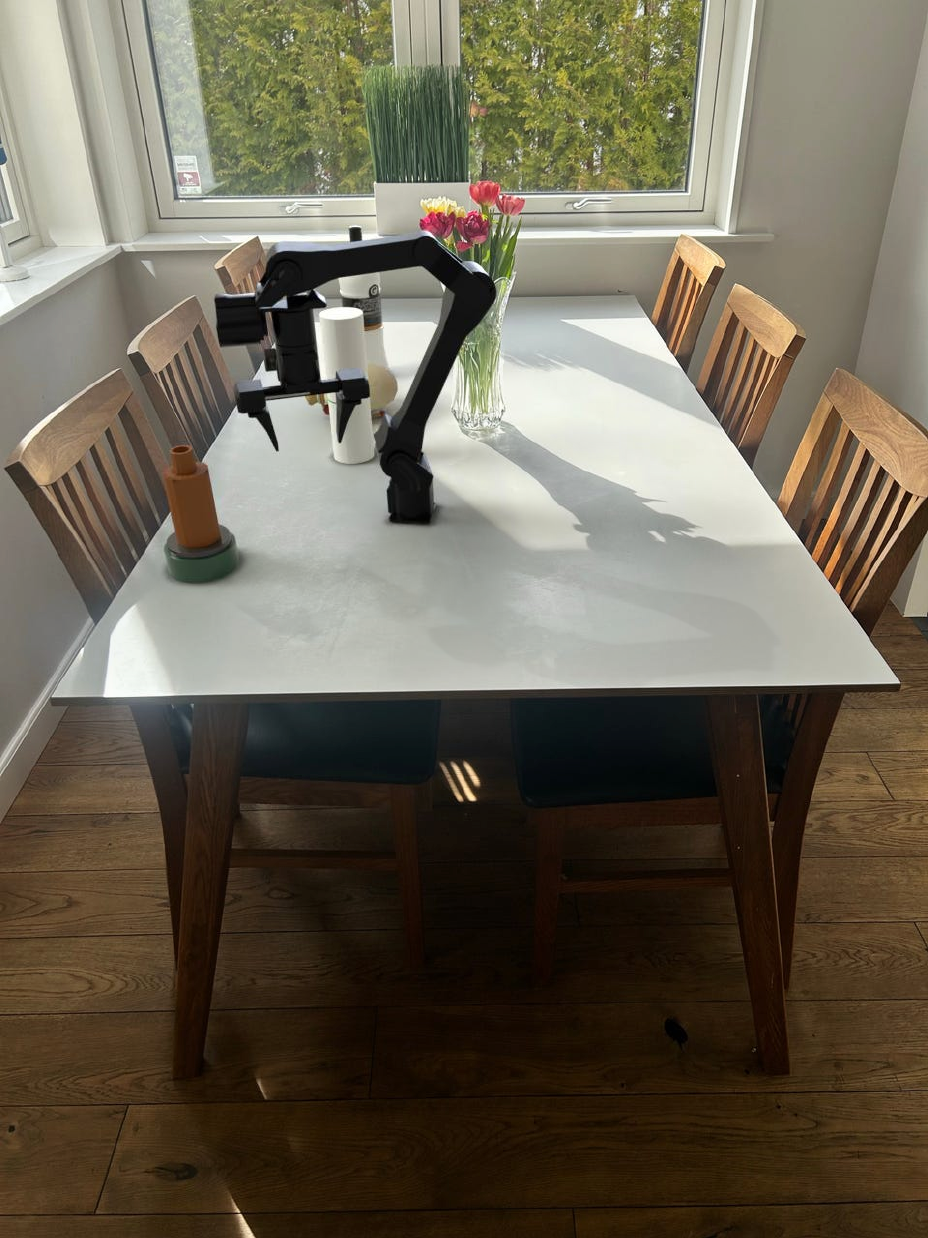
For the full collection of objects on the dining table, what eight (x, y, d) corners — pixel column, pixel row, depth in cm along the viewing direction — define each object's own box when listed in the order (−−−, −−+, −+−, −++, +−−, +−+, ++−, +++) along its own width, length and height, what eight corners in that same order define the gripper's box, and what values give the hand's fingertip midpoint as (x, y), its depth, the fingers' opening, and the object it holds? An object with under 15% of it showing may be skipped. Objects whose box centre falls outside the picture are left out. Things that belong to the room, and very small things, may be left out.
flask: (409, 422, 180) (315, 438, 176) (391, 394, 192) (304, 408, 189) (403, 375, 174) (307, 390, 171) (386, 349, 187) (296, 363, 184)
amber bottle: (226, 528, 136) (210, 441, 129) (211, 549, 132) (193, 459, 124) (187, 526, 137) (168, 439, 130) (170, 547, 132) (150, 457, 125)
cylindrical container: (367, 465, 164) (355, 320, 151) (328, 462, 166) (312, 318, 152) (379, 448, 170) (368, 307, 156) (341, 446, 171) (327, 306, 158)
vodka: (370, 363, 209) (358, 219, 192) (397, 373, 203) (388, 225, 187) (337, 374, 204) (322, 226, 187) (364, 384, 198) (351, 233, 181)
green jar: (249, 550, 140) (244, 523, 138) (224, 585, 132) (219, 557, 130) (185, 546, 142) (179, 519, 139) (157, 580, 134) (150, 553, 131)
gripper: (351, 318, 139) (360, 418, 148) (222, 331, 135) (239, 434, 144) (366, 340, 130) (374, 445, 139) (229, 355, 126) (246, 463, 135)
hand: (308, 446), depth 139 cm, fingers open, 9 cm apart
